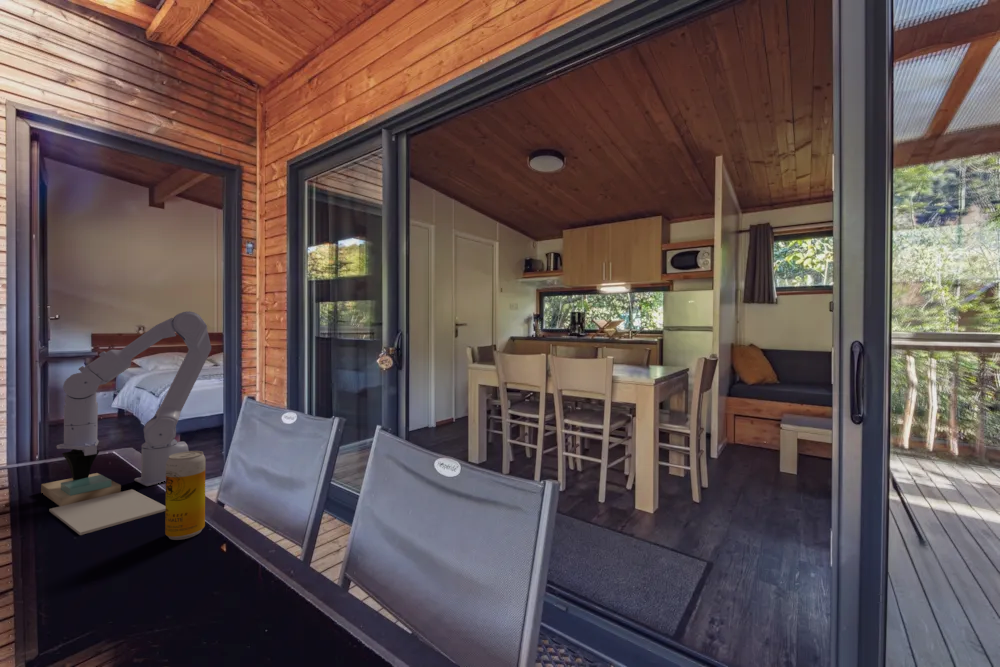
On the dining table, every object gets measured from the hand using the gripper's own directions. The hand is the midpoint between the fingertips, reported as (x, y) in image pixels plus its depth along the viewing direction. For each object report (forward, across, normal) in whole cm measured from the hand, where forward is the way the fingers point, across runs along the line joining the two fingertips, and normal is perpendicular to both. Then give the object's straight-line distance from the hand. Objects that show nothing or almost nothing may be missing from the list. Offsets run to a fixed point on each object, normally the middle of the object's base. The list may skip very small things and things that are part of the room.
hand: (80, 480), depth 102 cm
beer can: (+3, +44, +4) cm, 45 cm away
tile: (+1, +4, 0) cm, 4 cm away
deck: (+3, 0, 0) cm, 3 cm away
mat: (+3, +19, 0) cm, 19 cm away
